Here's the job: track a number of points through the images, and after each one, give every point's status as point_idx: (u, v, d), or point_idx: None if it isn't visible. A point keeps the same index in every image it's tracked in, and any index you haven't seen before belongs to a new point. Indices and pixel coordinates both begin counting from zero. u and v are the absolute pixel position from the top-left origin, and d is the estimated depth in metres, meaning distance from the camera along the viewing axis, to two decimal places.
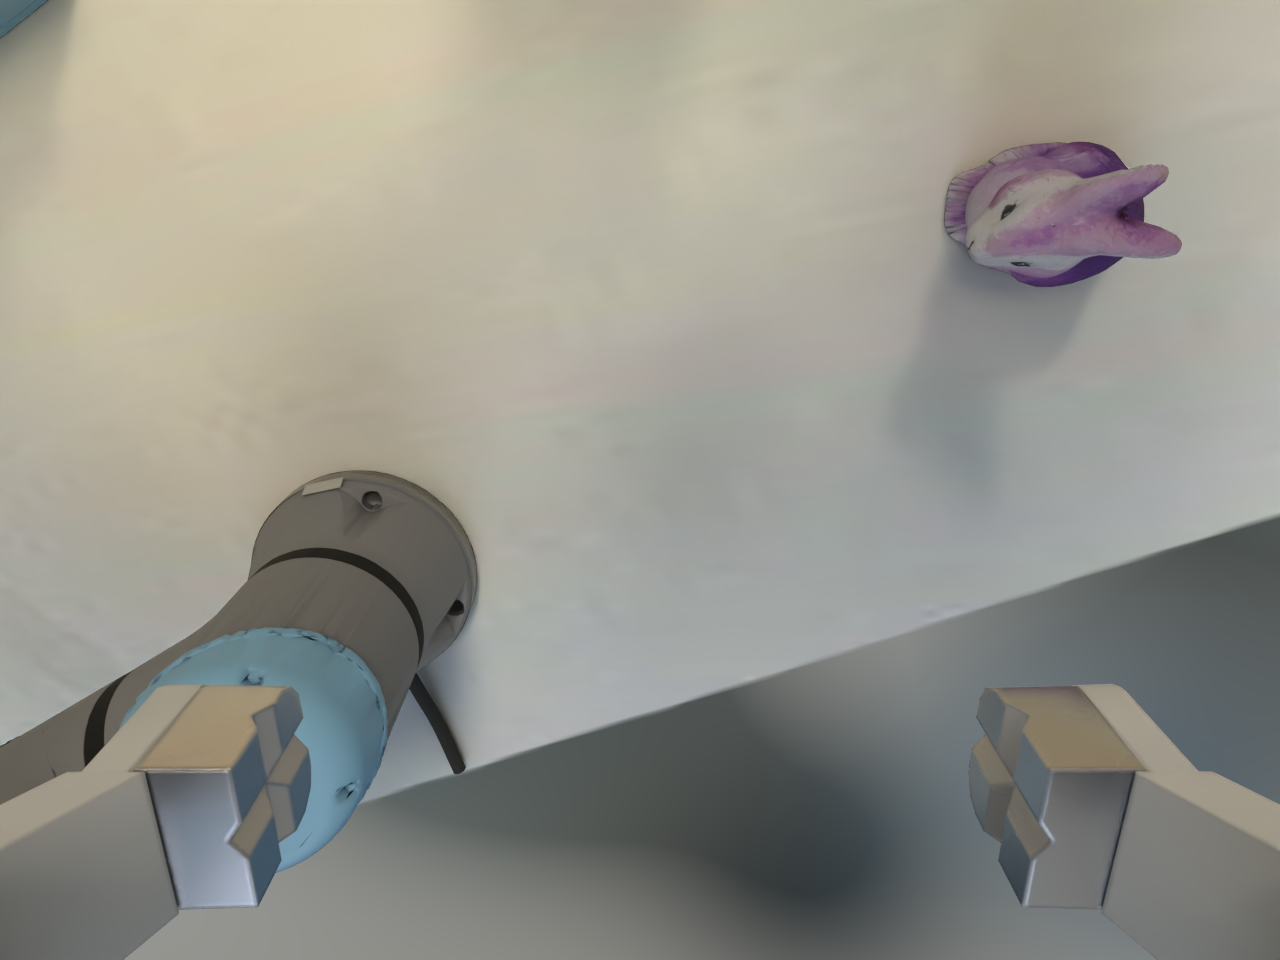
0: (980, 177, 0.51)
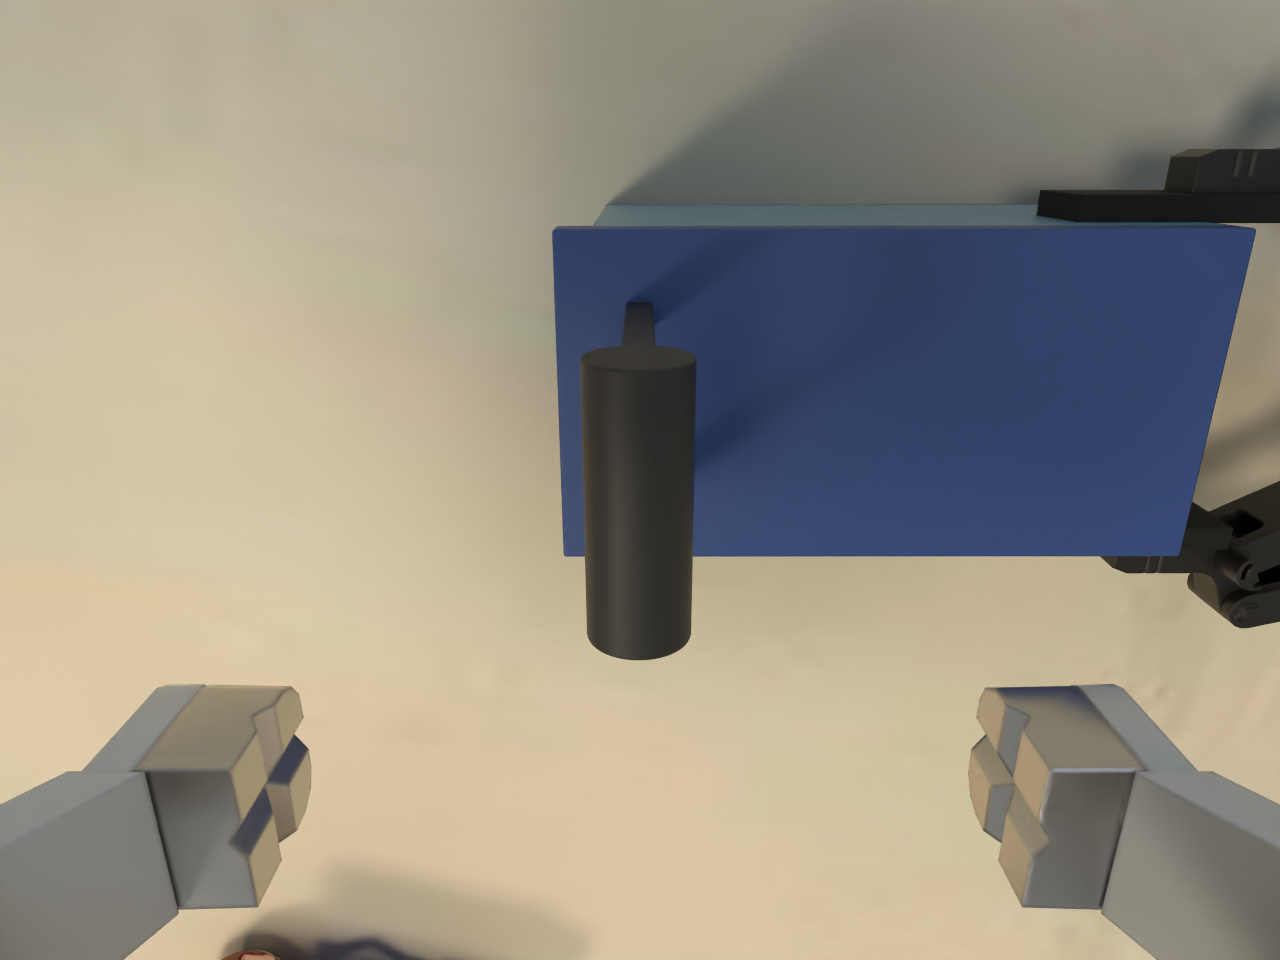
0: None
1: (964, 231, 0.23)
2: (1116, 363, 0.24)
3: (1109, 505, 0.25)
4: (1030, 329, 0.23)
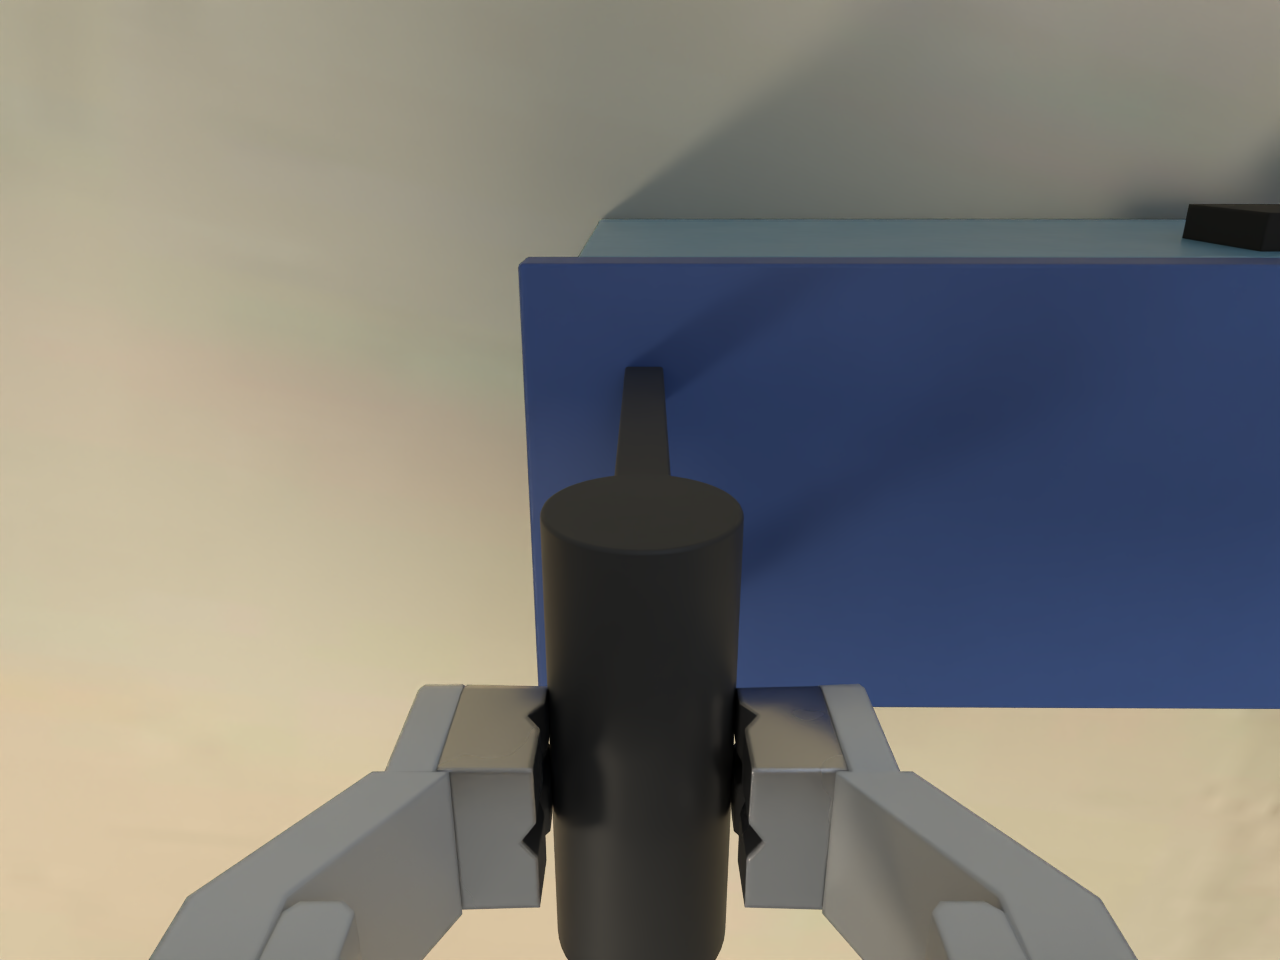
0: None
1: (1117, 267, 0.15)
2: None
3: None
4: (1203, 406, 0.16)
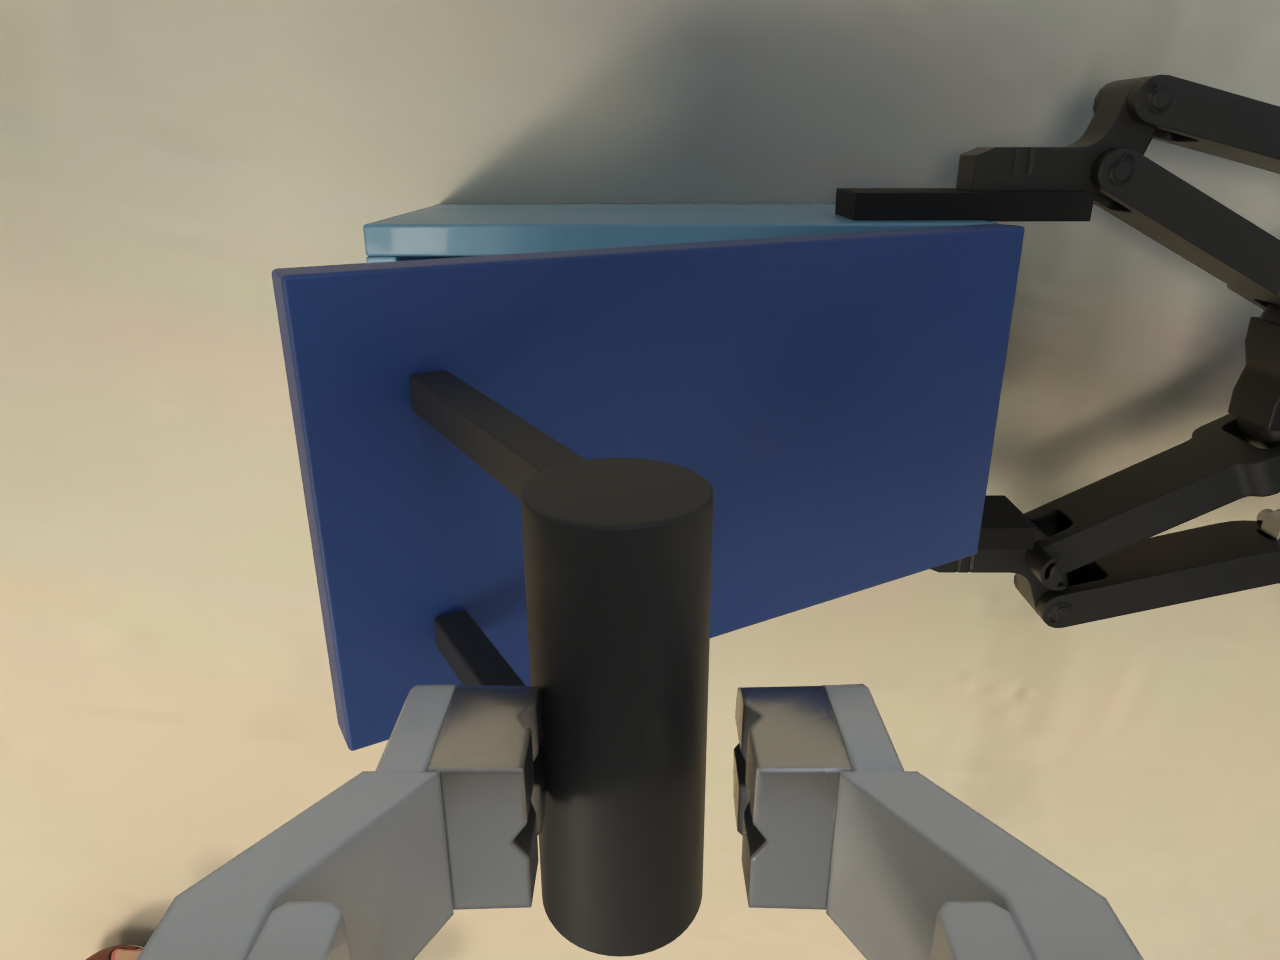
0: None
1: (796, 244, 0.19)
2: (927, 374, 0.22)
3: (926, 519, 0.24)
4: (858, 349, 0.21)
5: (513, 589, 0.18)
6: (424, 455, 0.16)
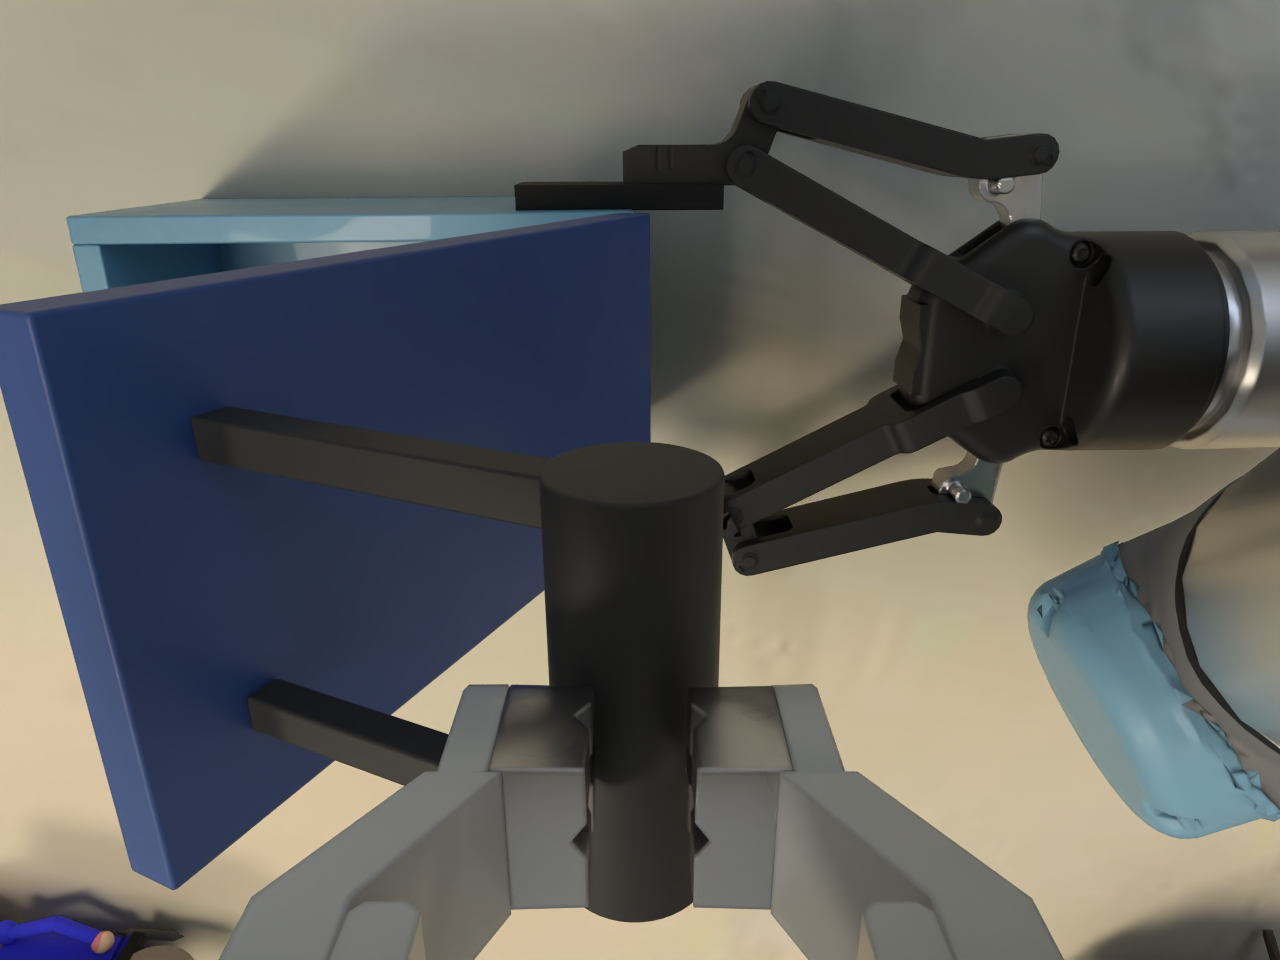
0: None
1: (509, 239, 0.20)
2: (606, 350, 0.25)
3: None
4: (560, 333, 0.22)
5: (319, 640, 0.16)
6: (216, 510, 0.14)
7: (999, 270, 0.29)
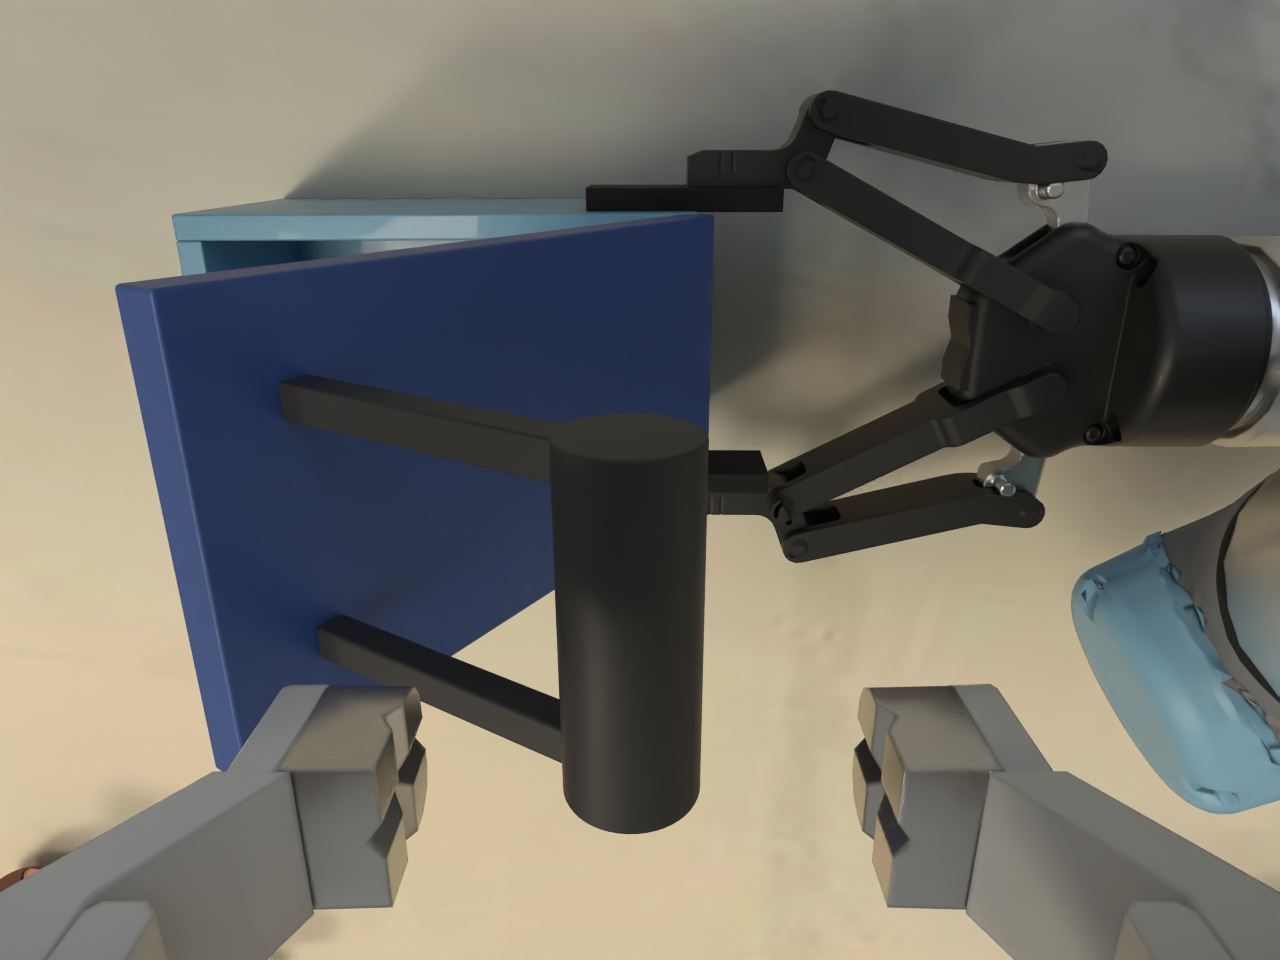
0: None
1: (571, 236, 0.22)
2: (665, 343, 0.26)
3: None
4: (619, 325, 0.24)
5: (381, 585, 0.18)
6: (296, 463, 0.16)
7: (1047, 271, 0.30)
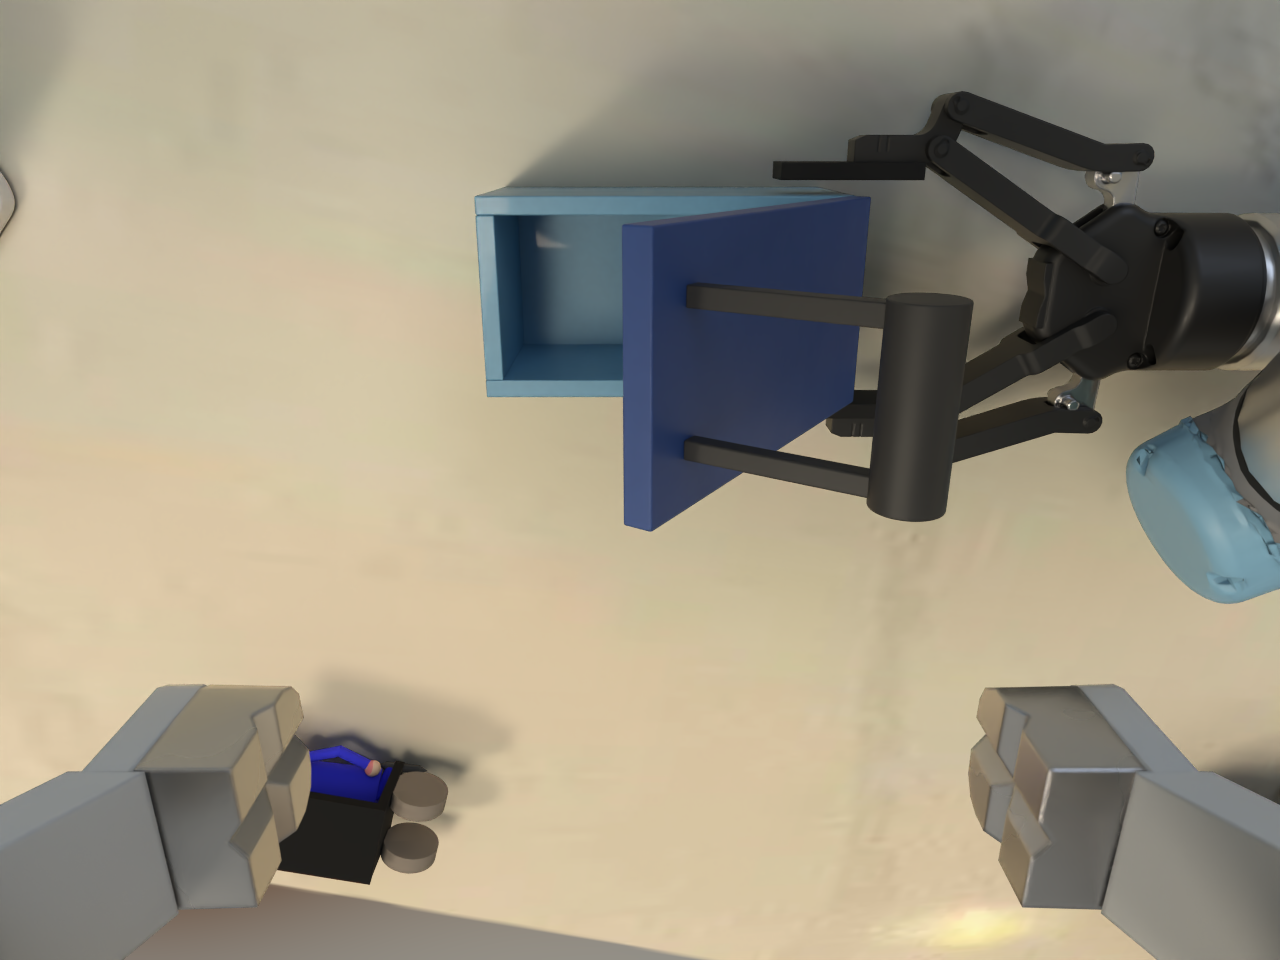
0: None
1: (803, 207, 0.33)
2: (840, 286, 0.37)
3: (837, 378, 0.39)
4: (820, 270, 0.35)
5: (708, 422, 0.29)
6: (687, 335, 0.27)
7: (1103, 237, 0.41)
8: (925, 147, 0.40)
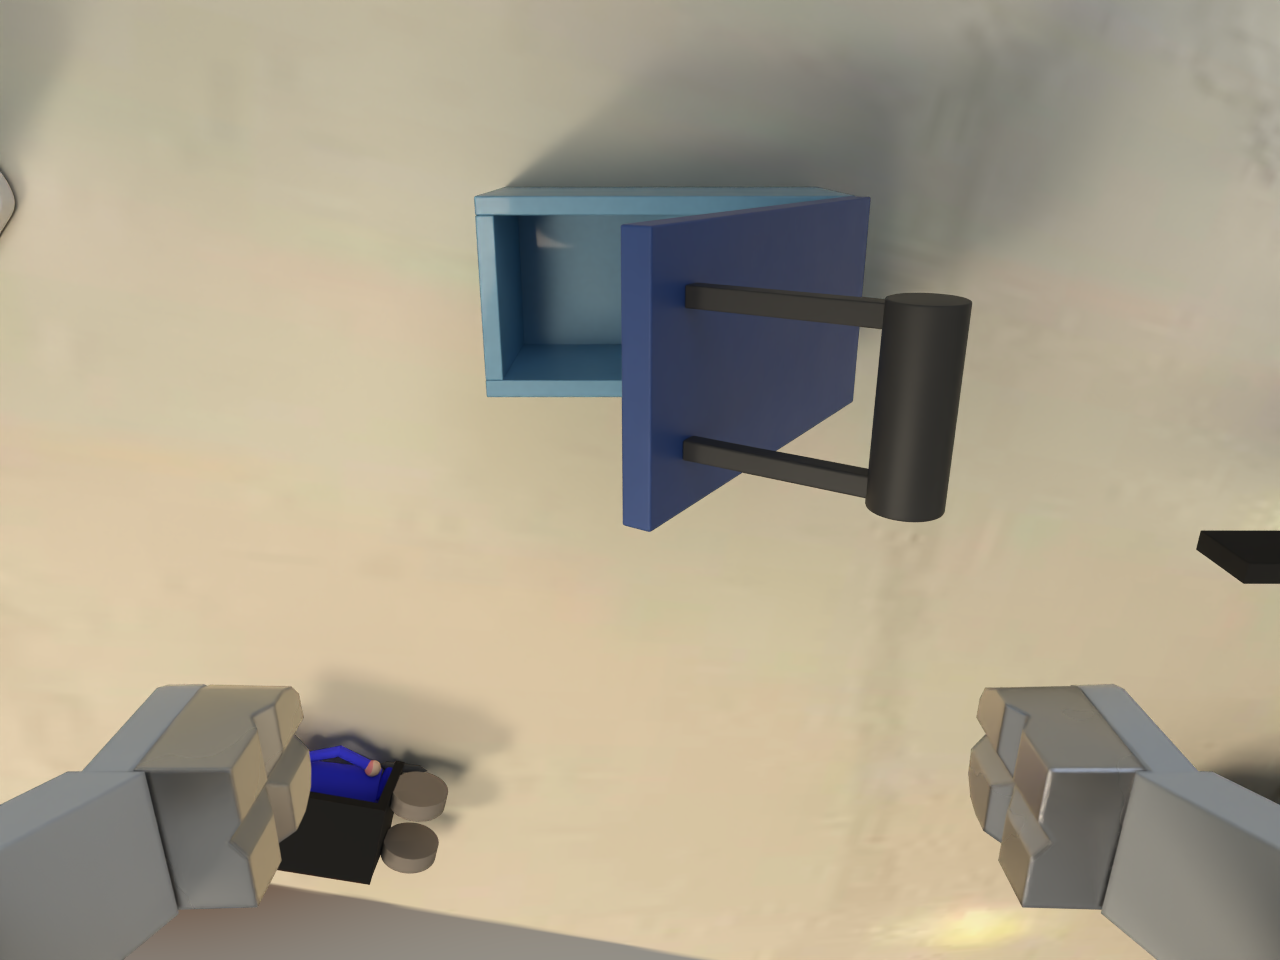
0: None
1: (803, 207, 0.33)
2: (840, 286, 0.37)
3: (837, 378, 0.39)
4: (819, 270, 0.35)
5: (708, 422, 0.29)
6: (686, 335, 0.27)
7: None
8: None
